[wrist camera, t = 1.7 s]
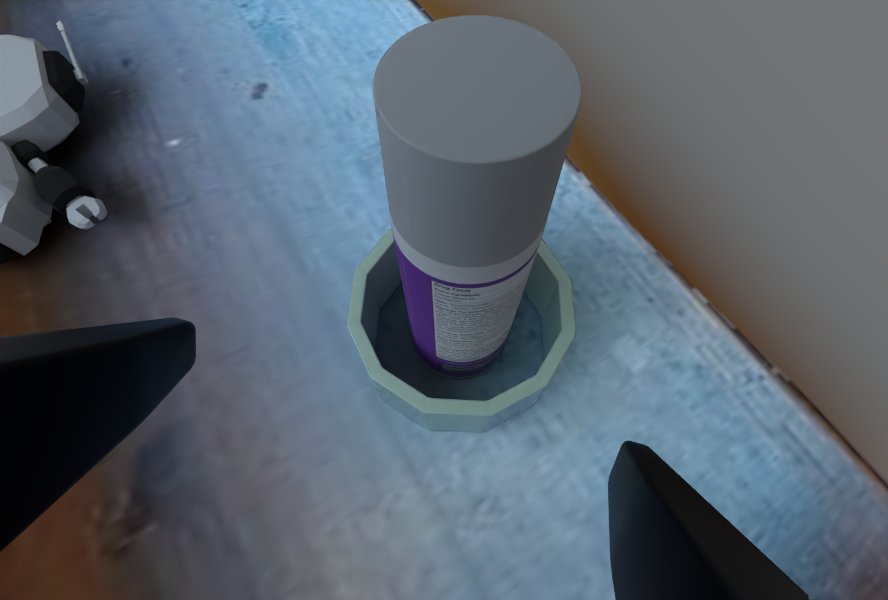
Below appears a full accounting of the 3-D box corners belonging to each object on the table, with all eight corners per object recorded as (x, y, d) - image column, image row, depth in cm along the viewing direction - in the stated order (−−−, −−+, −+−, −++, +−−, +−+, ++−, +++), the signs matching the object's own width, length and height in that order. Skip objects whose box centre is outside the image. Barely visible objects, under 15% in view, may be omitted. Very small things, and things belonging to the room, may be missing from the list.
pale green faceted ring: (592, 374, 22) (620, 346, 19) (414, 470, 21) (407, 460, 17) (494, 228, 26) (501, 181, 22) (336, 298, 24) (316, 259, 21)
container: (408, 298, 24) (360, 20, 11) (496, 288, 24) (559, 2, 11) (418, 385, 22) (373, 179, 9) (513, 373, 22) (617, 153, 9)
